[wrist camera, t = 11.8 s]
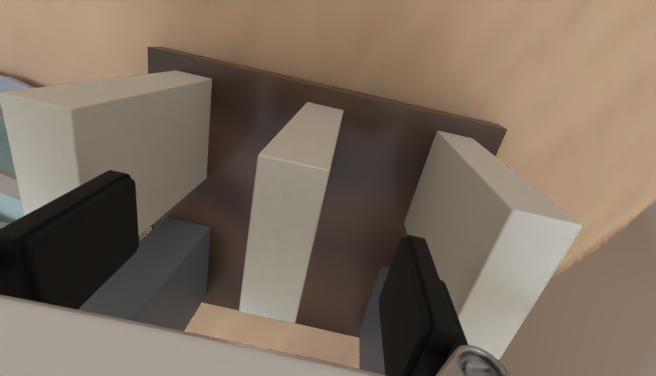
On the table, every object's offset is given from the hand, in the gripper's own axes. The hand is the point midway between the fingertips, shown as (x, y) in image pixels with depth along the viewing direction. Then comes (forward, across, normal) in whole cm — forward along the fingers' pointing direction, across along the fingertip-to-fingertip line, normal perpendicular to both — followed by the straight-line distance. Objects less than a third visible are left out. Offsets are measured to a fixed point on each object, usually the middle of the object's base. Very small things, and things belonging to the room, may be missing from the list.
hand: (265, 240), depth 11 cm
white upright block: (+11, -1, +1) cm, 11 cm away
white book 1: (+12, +8, +1) cm, 14 cm away
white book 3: (+11, -9, +1) cm, 14 cm away
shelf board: (+13, -1, +6) cm, 14 cm away
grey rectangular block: (+11, +8, +12) cm, 18 cm away
